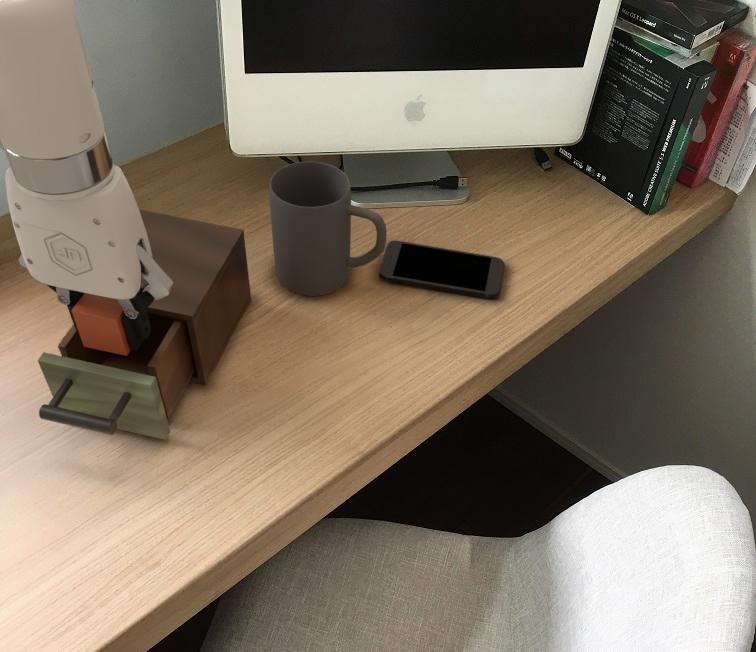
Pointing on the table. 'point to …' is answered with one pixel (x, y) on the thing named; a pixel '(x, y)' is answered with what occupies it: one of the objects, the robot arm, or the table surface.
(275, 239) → the mug
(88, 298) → the block
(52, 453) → the table surface
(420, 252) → the smartphone
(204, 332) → the cabinet
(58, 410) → the drawer
